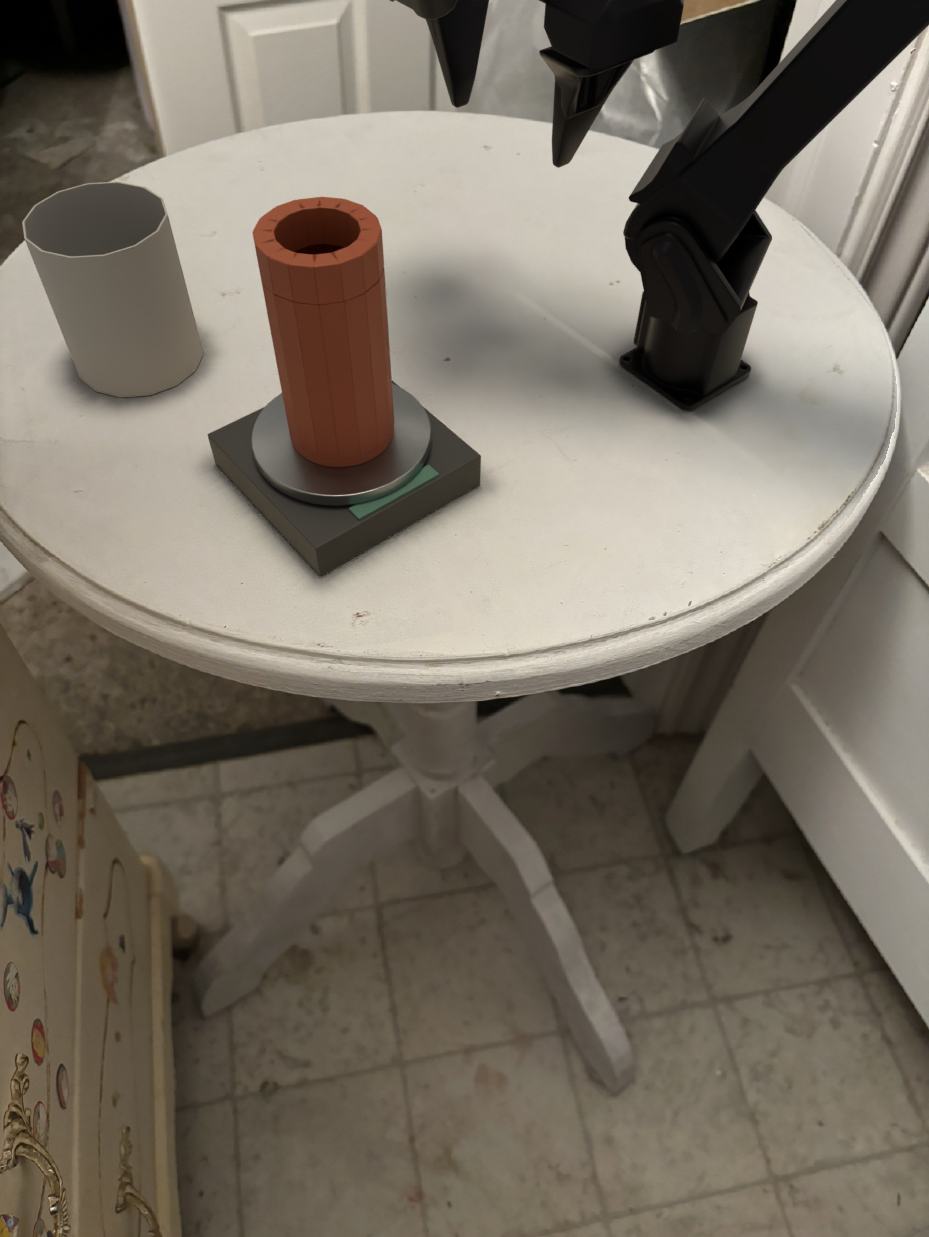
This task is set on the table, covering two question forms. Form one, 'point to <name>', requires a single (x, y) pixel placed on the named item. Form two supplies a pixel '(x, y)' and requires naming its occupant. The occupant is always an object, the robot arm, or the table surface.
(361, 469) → the scale pan
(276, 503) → the scale
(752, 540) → the table surface
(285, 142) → the table surface
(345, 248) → the jar
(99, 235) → the cup
